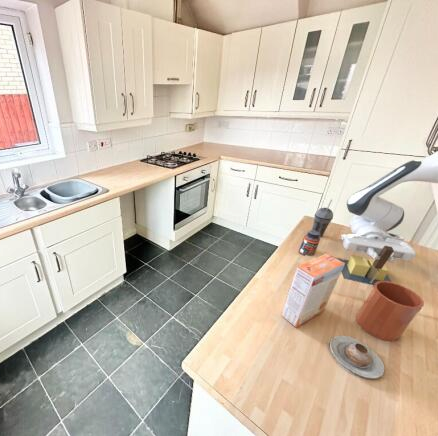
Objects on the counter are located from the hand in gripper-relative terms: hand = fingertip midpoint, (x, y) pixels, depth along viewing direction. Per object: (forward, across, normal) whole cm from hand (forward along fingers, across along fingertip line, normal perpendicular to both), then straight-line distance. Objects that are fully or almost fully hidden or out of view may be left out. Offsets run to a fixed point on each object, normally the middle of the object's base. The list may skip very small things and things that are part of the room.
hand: (383, 259), depth 85 cm
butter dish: (-7, 0, +13) cm, 15 cm away
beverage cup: (-32, -13, +13) cm, 37 cm away
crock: (+20, -3, +13) cm, 24 cm away
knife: (-2, 0, +11) cm, 11 cm away
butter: (-7, 0, +13) cm, 15 cm away
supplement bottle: (-14, -19, +13) cm, 27 cm away
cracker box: (+24, -24, +13) cm, 36 cm away
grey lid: (+35, -12, +13) cm, 39 cm away
